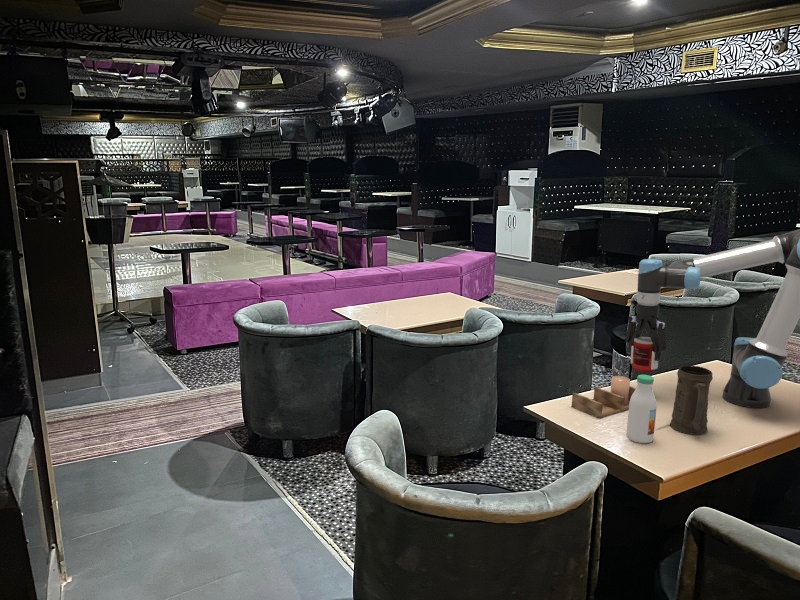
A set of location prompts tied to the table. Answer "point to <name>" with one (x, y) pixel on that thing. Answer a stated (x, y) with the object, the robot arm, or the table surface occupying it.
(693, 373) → the beer stein
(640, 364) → the canned food
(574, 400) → the rack
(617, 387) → the peach rounded block
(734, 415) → the table surface
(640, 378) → the milk bottle
